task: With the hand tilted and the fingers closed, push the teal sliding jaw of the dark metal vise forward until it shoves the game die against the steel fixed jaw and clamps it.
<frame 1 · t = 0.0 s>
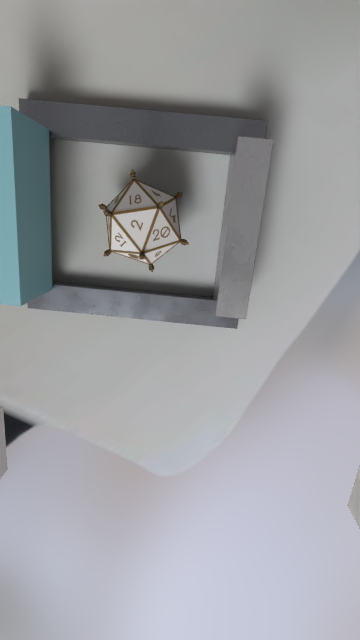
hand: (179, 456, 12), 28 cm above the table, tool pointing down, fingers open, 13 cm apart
vise base: (148, 223, 37), on the table
game die: (148, 223, 37), on the table
sliding jaw: (19, 213, 32), point 5 cm above the table, slide at 0.0 cm
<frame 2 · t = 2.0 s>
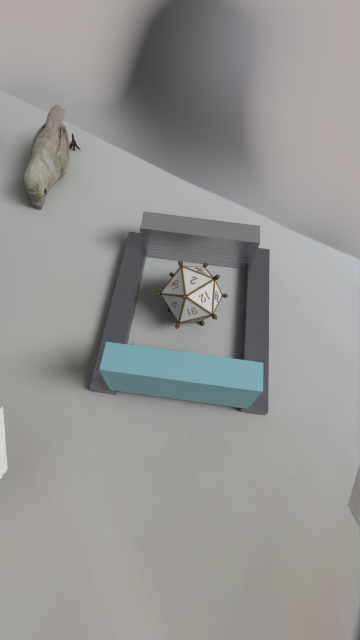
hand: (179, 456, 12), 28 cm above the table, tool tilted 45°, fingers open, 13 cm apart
vise base: (189, 309, 47), on the table
decorative bird: (55, 177, 58), on the table
game die: (189, 310, 47), on the table
sliding jaw: (181, 377, 37), point 5 cm above the table, slide at 0.0 cm
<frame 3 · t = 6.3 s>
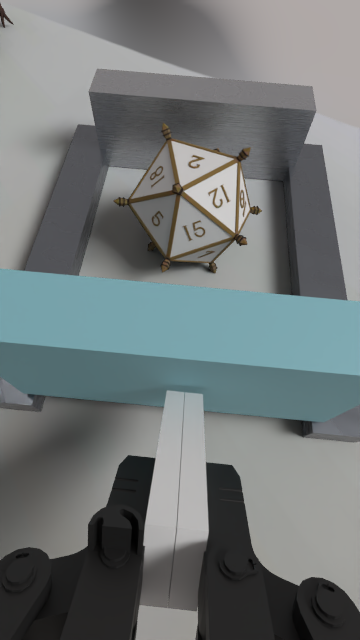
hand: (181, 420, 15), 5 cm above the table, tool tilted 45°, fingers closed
vise base: (188, 246, 25), on the table
game die: (188, 248, 26), on the table
sliding jaw: (176, 356, 16), point 5 cm above the table, slide at 0.5 cm, touching gripper
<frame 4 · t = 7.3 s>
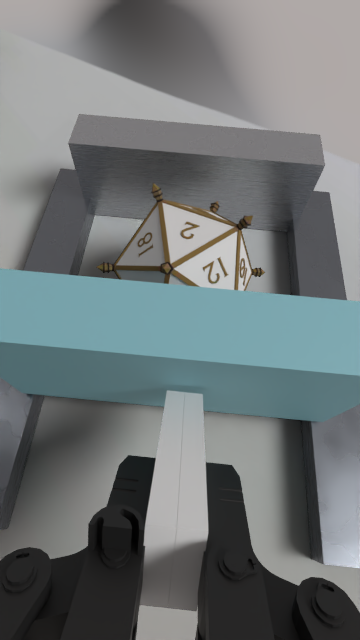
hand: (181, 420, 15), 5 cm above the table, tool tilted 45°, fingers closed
vise base: (181, 312, 23), on the table
game die: (183, 306, 23), on the table, touching sliding jaw
sliding jaw: (175, 356, 16), point 5 cm above the table, slide at 6.3 cm, touching game die, gripper
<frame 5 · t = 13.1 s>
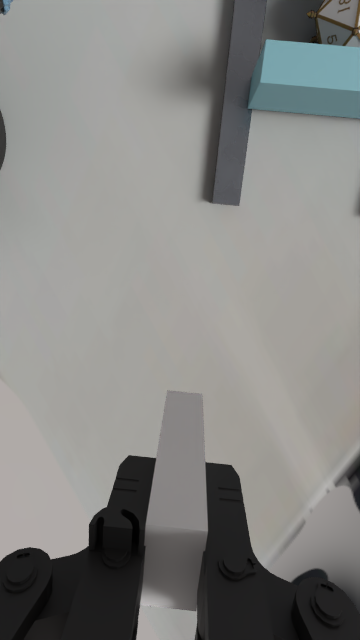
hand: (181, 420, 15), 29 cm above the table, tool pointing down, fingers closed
vise base: (326, 82, 36), on the table
game die: (339, 43, 35), on the table, touching sliding jaw, vise base
sliding jaw: (342, 85, 31), point 5 cm above the table, slide at 9.5 cm, touching game die
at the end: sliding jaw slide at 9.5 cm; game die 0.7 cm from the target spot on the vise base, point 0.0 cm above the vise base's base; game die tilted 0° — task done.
